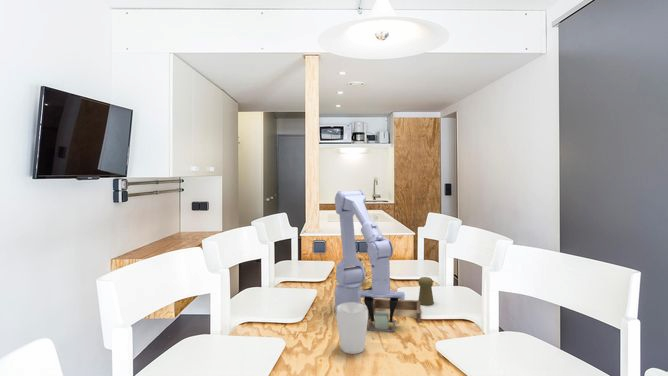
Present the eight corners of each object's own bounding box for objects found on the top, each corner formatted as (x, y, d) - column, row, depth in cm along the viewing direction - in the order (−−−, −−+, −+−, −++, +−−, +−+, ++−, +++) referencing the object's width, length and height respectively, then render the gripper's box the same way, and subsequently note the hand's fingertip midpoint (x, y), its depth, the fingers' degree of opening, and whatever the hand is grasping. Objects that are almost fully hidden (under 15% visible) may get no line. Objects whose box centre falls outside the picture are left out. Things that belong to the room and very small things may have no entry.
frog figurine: (384, 291, 158) (379, 257, 157) (342, 296, 159) (337, 262, 159) (382, 284, 168) (378, 252, 167) (343, 289, 169) (338, 257, 168)
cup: (335, 342, 111) (334, 302, 110) (365, 340, 112) (364, 301, 111) (338, 357, 102) (337, 314, 101) (371, 355, 103) (370, 312, 102)
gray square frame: (367, 335, 115) (367, 329, 115) (370, 324, 123) (370, 318, 123) (394, 337, 113) (394, 330, 113) (395, 326, 121) (395, 320, 121)
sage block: (375, 331, 117) (374, 315, 117) (376, 326, 121) (375, 311, 121) (387, 332, 116) (387, 316, 116) (388, 327, 120) (388, 311, 120)
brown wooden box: (368, 323, 124) (368, 310, 124) (372, 310, 136) (372, 298, 136) (420, 326, 120) (420, 313, 120) (420, 313, 132) (420, 300, 132)
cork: (435, 310, 134) (434, 280, 134) (417, 309, 136) (417, 279, 135) (434, 304, 140) (433, 275, 140) (417, 304, 142) (417, 275, 141)
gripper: (355, 281, 115) (357, 324, 116) (403, 282, 112) (404, 327, 113) (359, 275, 122) (360, 315, 123) (404, 276, 119) (405, 318, 119)
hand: (381, 320), depth 118 cm, fingers open, 5 cm apart
